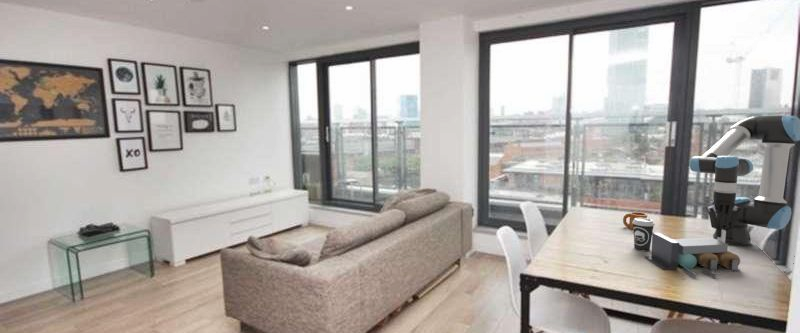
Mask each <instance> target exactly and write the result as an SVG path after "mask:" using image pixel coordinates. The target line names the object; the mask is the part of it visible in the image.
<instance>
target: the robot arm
mask: <svg viewBox="0 0 800 333" xmlns="http://www.w3.org/2000/svg"><path fill="white" fill-rule="evenodd" d="M726 131H727V132H726V134H724V135H723V137H722V138H721V139H720V140H718V141H717V142H716V143H715V144H714V145H713V146H711V148H710V149H708V150H707V151H706V152H705V153H704V154H703V155H701V156H699V155H697V156H695V155H694V156H692V157H691V158H690V160H689V169H690V170H691V172H695V173H699V174H702V173H703V174H713V175H714V182H713V183H714V184H713V190H714V191H713V194H712V195H713V196H712V198H713V202H712V205H710V206H706V210H707V211H708V216H709V221H710V226H711V227H712V228H713V229H715V230H714V233H713V234H712V238H714V239H716V240H719V241H721V242H723V243H726V244H727V245H731V244H733V245H732V246H751V244H752V238H751V235H750V232H749V229H748V226H755V227H760V228H766V229H769V230H770V229H773V230H777V231H778V230H782V229H784V228H785V227H787V225H789V221H790V220H791V217H792V213H793V212H792V208H791V207H790V206H788V202H787V201H786V200H785V199H784V192H785V187H786V186H785V185H786V177H787V172H788V171H787V170H788V166H789V165H788V164H789V156H790V150H791V148H793V147H794V146H795V145H796V142H799V141H800V118H799V117H798V116H796V115H786V114H785V115H756V116H750V117H747V118H745V119H743V120H740V121H738V122H737V123H734V124H733V125H732V126H731V127H729V128H728V129H727V130H726ZM750 140H751V141H752V140H758V141H759V140H761V144H762V145H763V146H764V154H763V161H762V167H761V168H762V169H761V177H760V184H759V190H758V191H759V192H758V196H756V197H754V199H753V201H752V200H751V198H749V197H746V196H737V193H736V192H737V188H738V187H737V185H738V184H737V183H738V177H744V176H746V175H749V174H750V173H752V172H753V169H754V165H753V163H752V161H750V160H749V159H747V158H739V157H738V156H736V155H732V153H733V152H734V151H736V150H737V148H739V147H740V146H741V145H742V144H745V143H747V142H748V141H750Z"/></svg>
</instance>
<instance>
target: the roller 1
mask: <svg viewBox="0 0 800 333" xmlns="http://www.w3.org/2000/svg"><path fill="white" fill-rule="evenodd" d="M696 263H697V260H696V257H695V256H693V255H691V254H682V253H680V252H679V257H678V266H681V267H682V268H683V267H686V268H687V269H689V270H691V269H693V268H694V266H695V265H696ZM697 264H698V263H697Z"/></svg>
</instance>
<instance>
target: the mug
mask: <svg viewBox="0 0 800 333" xmlns="http://www.w3.org/2000/svg"><path fill="white" fill-rule="evenodd" d="M628 218H629V223H628V222H627V219H628ZM634 218H648V213H645V212H639V211H631V212H629V213H626V214H625V215H624V216H623V218H622V222H623V225H624V226H625V227H626V228H629V229H630V230H633V231H634V229H633V223H632V222H633V220H634Z"/></svg>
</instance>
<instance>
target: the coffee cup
mask: <svg viewBox="0 0 800 333" xmlns="http://www.w3.org/2000/svg"><path fill="white" fill-rule="evenodd" d="M632 223H633V229H634V230H633V229H632V230H633V246H634V249H635V250H637V251H639V252H640V251H641V252H649V251H650V250H651V246H652V233H654V232H653V231H654V227H655V225H656V224H655V221H654V220H653V219H651V218H648V217H647V218H634V220H633V222H632Z"/></svg>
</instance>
